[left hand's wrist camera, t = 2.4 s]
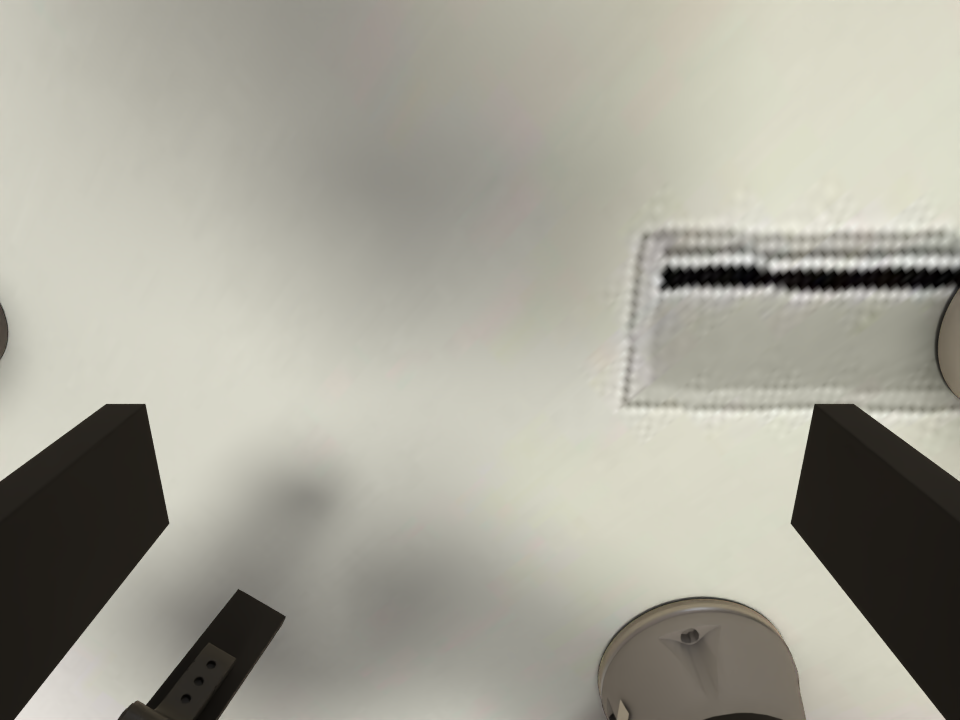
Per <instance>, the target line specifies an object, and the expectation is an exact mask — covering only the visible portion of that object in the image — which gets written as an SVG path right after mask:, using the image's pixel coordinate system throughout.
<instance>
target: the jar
mask: <svg viewBox="0 0 960 720" xmlns="http://www.w3.org/2000/svg"><path fill="white" fill-rule="evenodd" d="M6 343H7V324H6V319H5V315H4V313H3V310H2V308H1V305H0V358H1V357H2V355H3V353H4V350H5V347H6Z"/></svg>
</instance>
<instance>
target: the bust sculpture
mask: <svg viewBox="0 0 960 720" xmlns="http://www.w3.org/2000/svg"><path fill="white" fill-rule="evenodd" d="M938 358H939V364H940V368H941V371H942V374H943V377H944V379H945V381H946V383H947V384H948V386H949V388H950V389H951V390H952V391H953V393H954V394H955V395H956V396H957V397H958V398H959V399H960V288H959V290H958V291H957V293H956V294H955V296H954V298H953V299H952V301H951V303H950V305H949V307H948V309H947V311H946V314H945V316H944V319H943V322H942V325H941V329H940V334H939V341H938Z"/></svg>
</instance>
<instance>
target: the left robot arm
mask: <svg viewBox="0 0 960 720" xmlns="http://www.w3.org/2000/svg"><path fill="white" fill-rule="evenodd" d="M168 524H169V520H168V515H167V510H166V505H165V500H164V495H163V490H162V485H161V480H160V475H159V470H158V465H157V460H156V455H155V450H154V445H153V440H152V435H151V430H150V425H149V420H148V415H147V410H146V405H145V404H106V405H104V406H103V407H102V408H100V409H99V410H97V411H96V412H95V413H93V414H92V415H91V416H89V417H88V418H87V419H85V420H84V421H82V422H81V423H80V424H78V425H77V426H76V427H74V428H73V429H72V430H70V431H69V432H67V433H66V434H65V435H63V436H62V437H61V438H59V439H58V440H56V441H55V442H54V443H52V444H51V445H50V446H48V447H47V448H46V449H44V450H43V451H41V452H40V453H39V454H37V455H36V456H35V457H33V458H32V459H30V460H29V461H28V462H26V463H25V464H24V465H22V466H21V467H20V468H18V469H17V470H15V471H14V472H13V473H11V474H10V475H9V476H7V477H6V478H5V479H3V480H2V481H0V720H14V719H15V718H16V717H17V715H18V714H19V713H20V712H21V710H22V709H23V708H24V707H25V705H26V704H27V703H28V701H29V700H30V699H31V698H32V696H33V695H34V694H35V693H36V691H37V690H38V689H39V688H40V686H41V685H42V684H43V683H44V681H45V680H46V679H47V677H48V676H49V675H50V674H51V672H52V671H53V670H54V669H55V667H56V666H57V665H58V664H59V662H60V661H61V660H62V658H63V657H64V656H65V655H66V653H67V652H68V651H69V650H70V648H71V647H72V646H73V645H74V643H75V642H76V641H77V640H78V638H79V637H80V636H81V634H82V633H83V632H84V631H85V629H86V628H87V627H88V626H89V624H90V623H91V622H92V621H93V619H94V618H95V617H96V616H97V614H98V613H99V612H100V610H101V609H102V608H103V607H104V605H105V604H106V603H107V602H108V600H109V599H110V598H111V597H112V595H113V594H114V593H115V591H116V590H117V589H118V588H119V586H120V585H121V584H122V583H123V581H124V580H125V579H126V578H127V576H128V575H129V574H130V573H131V571H132V570H133V569H134V567H135V566H136V565H137V564H138V562H139V561H140V560H141V559H142V557H143V556H144V555H145V554H146V552H147V551H148V550H149V549H150V547H151V546H152V545H153V543H154V542H155V541H156V540H157V538H158V537H159V536H160V535H161V533H162V532H163V531H164V530H165V528H166V527H167V526H168ZM791 524H792V526H793V527H794V528H795V530H796V531H797V532H798V533H799V535H800V536H801V537H802V538H803V540H804V541H805V542H806V543H807V545H808V546H809V547H810V549H811V550H812V551H813V552H814V554H815V555H816V556H817V557H818V559H819V560H820V561H821V562H822V564H823V565H824V566H825V567H826V569H827V570H828V571H829V573H830V574H831V575H832V576H833V578H834V579H835V580H836V581H837V583H838V584H839V585H840V586H841V588H842V589H843V590H844V591H845V593H846V594H847V595H848V597H849V598H850V599H851V600H852V602H853V603H854V604H855V605H856V607H857V608H858V609H859V610H860V612H861V613H862V614H863V616H864V617H865V618H866V619H867V621H868V622H869V623H870V624H871V626H872V627H873V628H874V629H875V631H876V632H877V633H878V634H879V636H880V637H881V638H882V640H883V641H884V642H885V643H886V645H887V646H888V647H889V648H890V650H891V651H892V652H893V653H894V655H895V656H896V657H897V658H898V660H899V661H900V662H901V664H902V665H903V666H904V667H905V669H906V670H907V671H908V672H909V674H910V675H911V676H912V677H913V679H914V680H915V681H916V683H917V684H918V685H919V686H920V688H921V689H922V690H923V691H924V693H925V694H926V695H927V696H928V698H929V699H930V700H931V701H932V703H933V704H934V705H935V707H936V708H937V709H938V710H939V712H940V713H941V714H942V715H943V717H944V718H945V719H946V720H960V481H958V480H957V479H955V478H954V477H953V476H951V475H950V474H949V473H947V472H946V471H945V470H943V469H942V468H940V467H939V466H938V465H936V464H935V463H934V462H932V461H931V460H930V459H928V458H927V457H925V456H924V455H923V454H921V453H920V452H919V451H917V450H916V449H914V448H913V447H912V446H910V445H909V444H908V443H906V442H905V441H904V440H902V439H901V438H899V437H898V436H897V435H895V434H894V433H893V432H891V431H890V430H888V429H887V428H886V427H884V426H883V425H882V424H880V423H879V422H878V421H876V420H875V419H873V418H872V417H871V416H869V415H868V414H867V413H865V412H864V411H863V410H861V409H860V408H858V407H857V406H856V405H854V404H815V405H814V410H813V415H812V420H811V425H810V430H809V435H808V440H807V445H806V450H805V455H804V460H803V465H802V470H801V475H800V480H799V485H798V490H797V495H796V500H795V505H794V510H793V515H792V520H791Z"/></svg>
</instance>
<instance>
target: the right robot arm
mask: <svg viewBox="0 0 960 720" xmlns="http://www.w3.org/2000/svg"><path fill="white" fill-rule="evenodd" d="M285 617H286V616H284V615H282V614H280V613H279V612H277V611H275V610H274V609H272V608H270V607H268V606H267V605H265V604H263V603H262V602H260V601H258V600H256V599H255V598H253V597H251V596H250V595H248V594H246V593H244V592H243V591H241V590H239V589H238V590H237V592H236V593H235V594H234V595H233V597H232V598H231V599H230V600H229V602H228V603H227V604H226V605H225V607H224V608H223V609H222V610H221V612H220V613H219V614H218V615H217V617H216V618H215V619H214V620H213V622H212V623H211V624H210V625H209V627H208V628H207V629H206V631H205V632H204V633H203V634H202V636H201V637H200V638H199V639H198V641H197V642H196V643H195V644H194V646H193V647H192V648H191V649H190V651H189V652H188V653H187V654H186V656H185V657H184V658H183V659H182V661H181V662H180V663H179V664H178V666H177V667H176V668H175V669H174V671H173V672H172V673H171V674H170V676H169V677H168V678H167V679H166V681H165V682H164V683H163V684H162V686H161V687H160V688H159V689H158V691H157V692H156V693H155V694H154V696H153V697H152V698H151V700H150V701H149V702H148V703H147V705H145V704H143V703H141V702H140V701H136V702H135V703H132V704H131V705H130V706H129V707H128V708H127V709H125V710H124V712H123V713H122V714H121V716H120V717H119V719H118V720H218V719H219V717H220V716H221V714H222V713H223V711H224V710H225V708H226V707H227V705H228V704H229V703H230V701H231V700H232V698H233V697H234V695H235V694H236V692H237V691H238V689H239V688H240V686H241V685H242V683H243V682H244V680H245V679H246V677H247V676H248V674H249V673H250V671H251V670H252V668H253V667H254V666H255V664H256V663H257V661H258V660H259V658H260V657H261V655H262V654H263V652H264V651H265V649H266V648H267V646H268V645H269V643H270V642H271V640H272V639H273V637H274V636H275V634H276V633H277V631H278V630H279V629H280V627H281V626H282V624H283V622H284V620H285ZM598 687H599V692H600V697H601V701H602V706H603V709H604V712H605V715H606V717H607V720H806V717H805V712H804V707H803V703H802V698H801V694H800V687H799V676H798V671H797V668H796V665H795V662H794V660H793V657H792V655H791V653H790V651H789V649H788V647H787V645H786V643H785V642H784V640H783V638H782V637H781V635H780V634H779V632H778V631H777V629H776V628H775V627H774V626H773V625H772V624H771V623H770V622H769V621H768V620H767V619H766V618H765V617H763V616H762V615H760V614H759V613H757V612H755V611H754V610H752V609H750V608H747V607H745V606H743V605H740V604H737V603H733V602H729V601H724V600H717V599H692V600H684V601H678V602H674V603H670V604H667V605H664V606H661V607H658V608H656V609H653V610H651V611H649V612H647V613H645V614H643V615H641V616H640V617H638V618H637V619H635V620H633V621H632V622H631V623H630V624H628V625H627V626H626V627H625V628H624V629H622V630H621V631H620V632H619V633H618V634H617V636H616V637H615V638H614V639H613V640H612V642H611V643H610V644H609V646H608V648H607V649H606V651H605V653H604V655H603V658H602V660H601V664H600V667H599V673H598Z"/></svg>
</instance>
